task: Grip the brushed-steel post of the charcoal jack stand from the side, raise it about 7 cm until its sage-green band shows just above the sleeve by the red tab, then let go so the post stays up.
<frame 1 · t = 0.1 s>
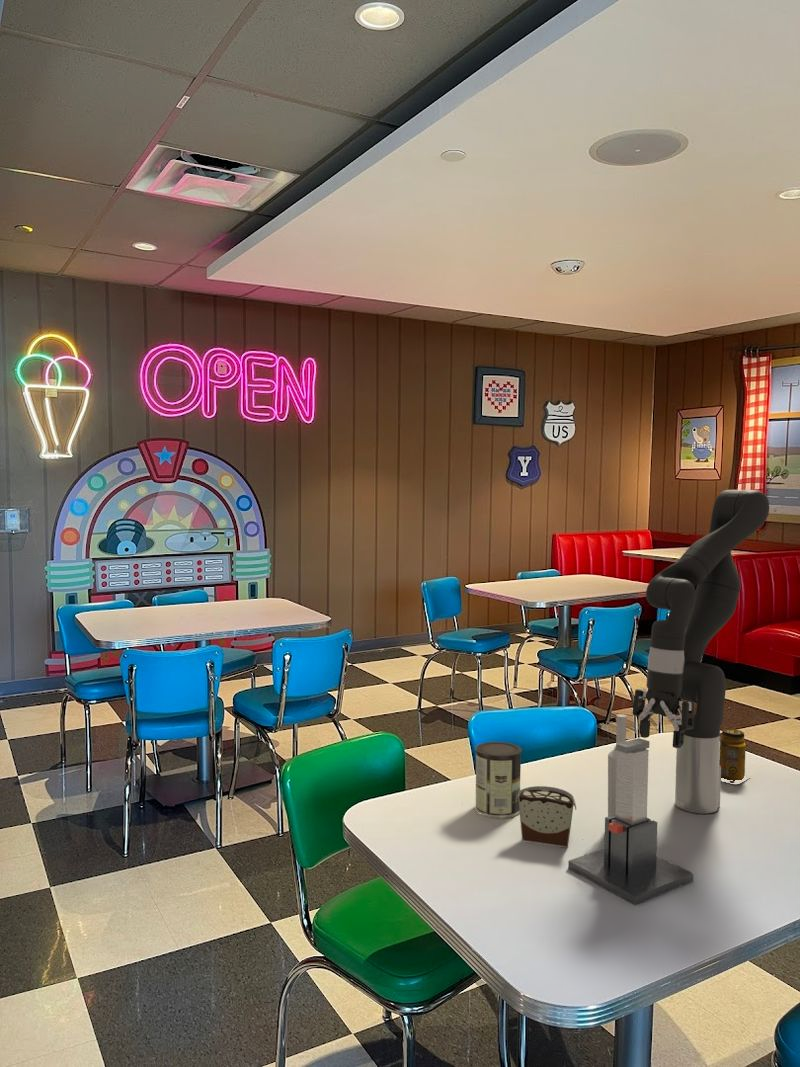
hand: (660, 742, 174), 17 cm above the table, tool pointing down, fingers open, 8 cm apart
bottle: (618, 833, 168), on the table
condiment: (729, 779, 201), on the table
food container: (547, 839, 165), on the table
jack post: (631, 803, 148), point 14 cm above the table, slide at 0.0 cm
jack stand: (629, 874, 149), on the table
coffee can: (497, 810, 179), on the table
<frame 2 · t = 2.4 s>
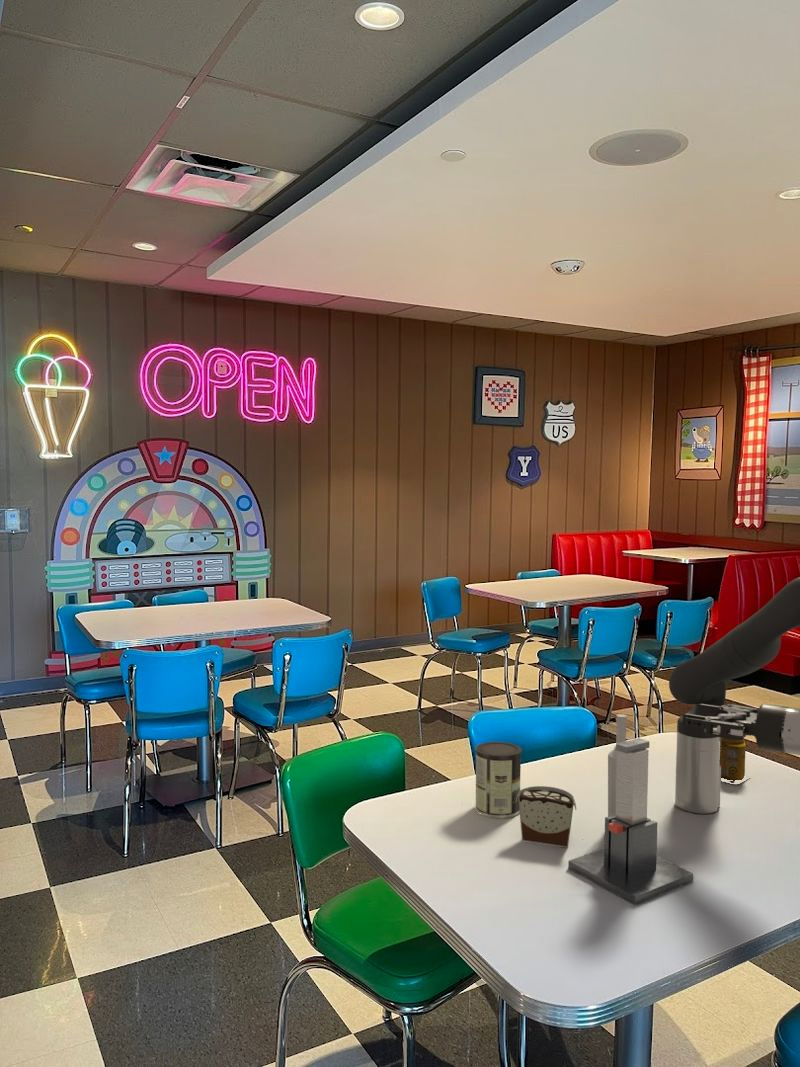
hand: (690, 714, 141), 32 cm above the table, tool horizontal, fingers open, 8 cm apart
nothing on the table moved.
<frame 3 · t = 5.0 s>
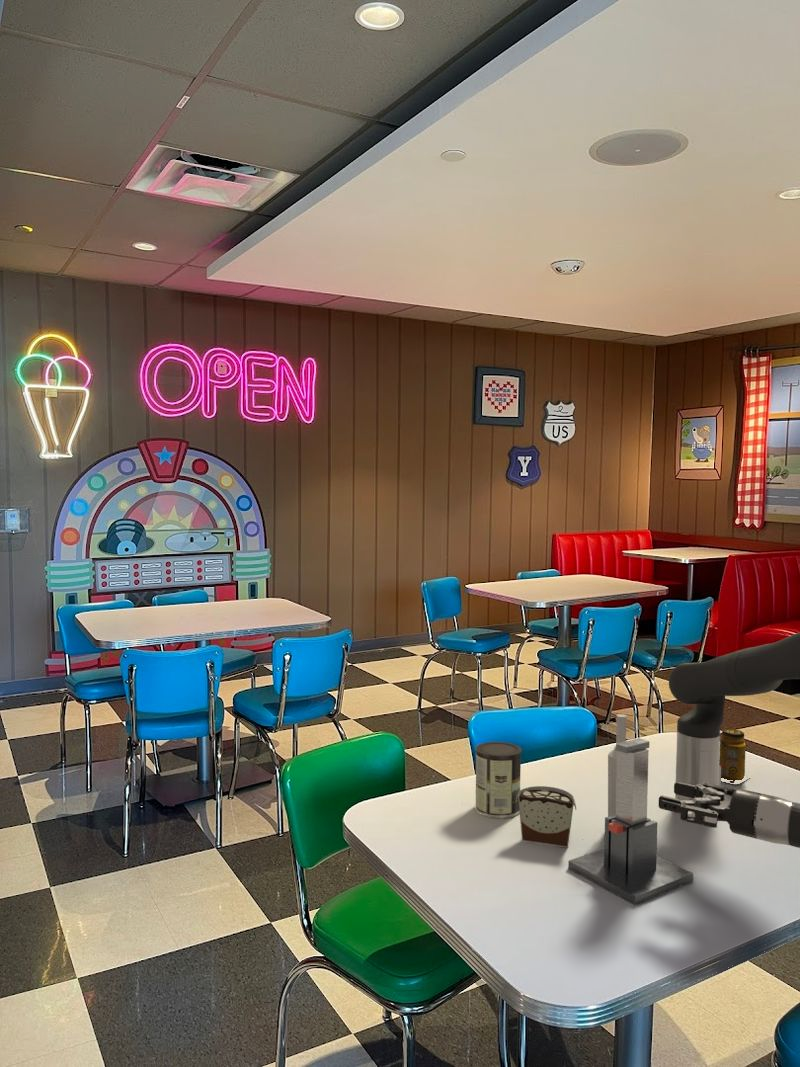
hand: (667, 794, 144), 17 cm above the table, tool horizontal, fingers open, 8 cm apart
nothing on the table moved.
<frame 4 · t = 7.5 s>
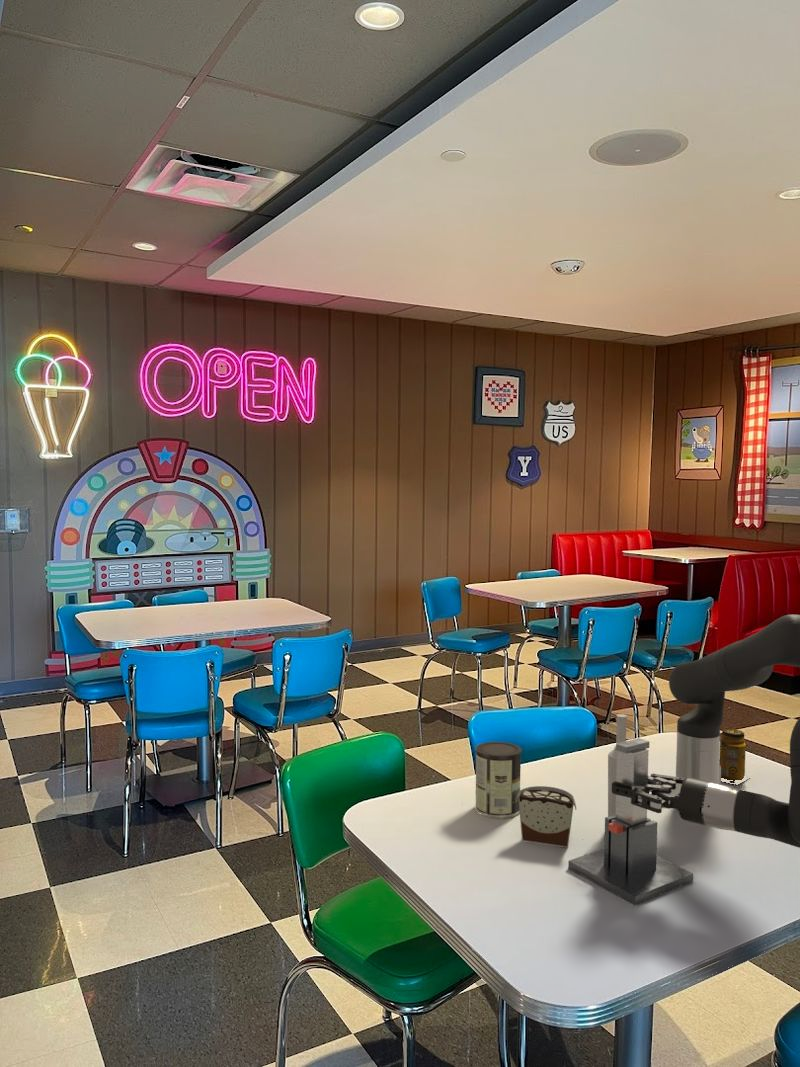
hand: (618, 782, 150), 17 cm above the table, tool horizontal, fingers closed on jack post, 5 cm apart
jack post: (631, 803, 148), point 14 cm above the table, slide at 0.0 cm, touching gripper
everything else where it was.
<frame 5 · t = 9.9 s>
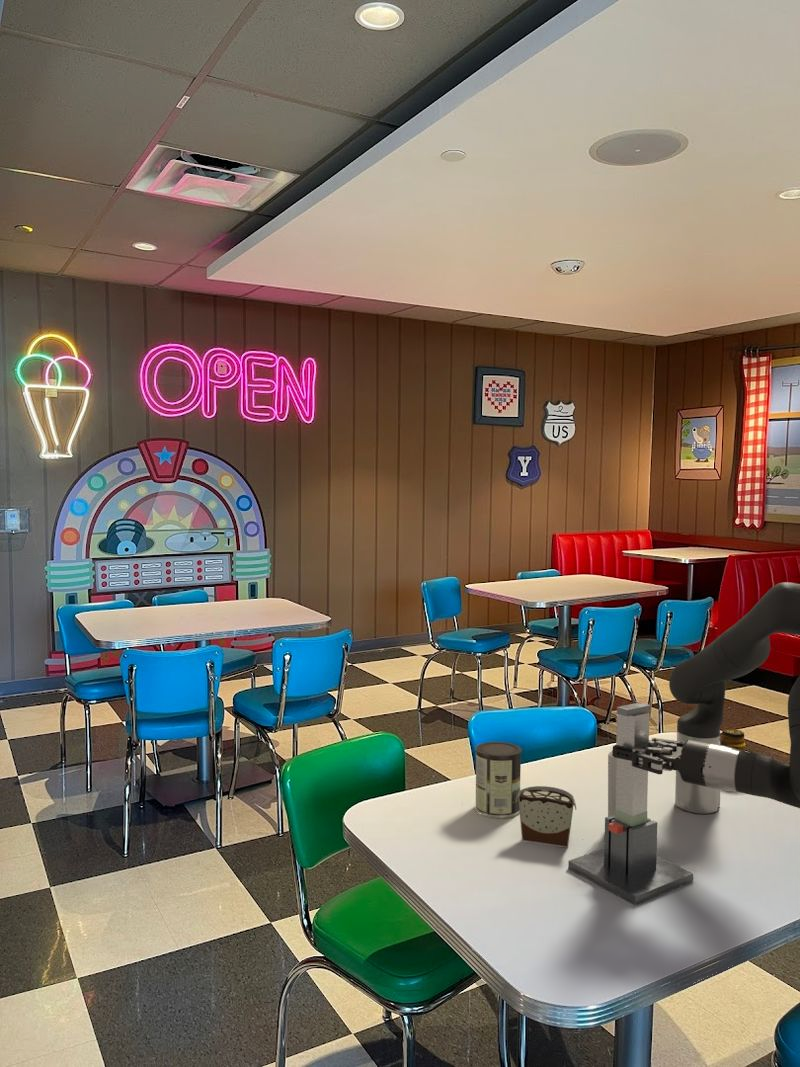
hand: (619, 746, 149), 24 cm above the table, tool horizontal, fingers closed on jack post, 5 cm apart
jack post: (632, 767, 148), point 20 cm above the table, slide at 6.9 cm, touching gripper
everything else where it was.
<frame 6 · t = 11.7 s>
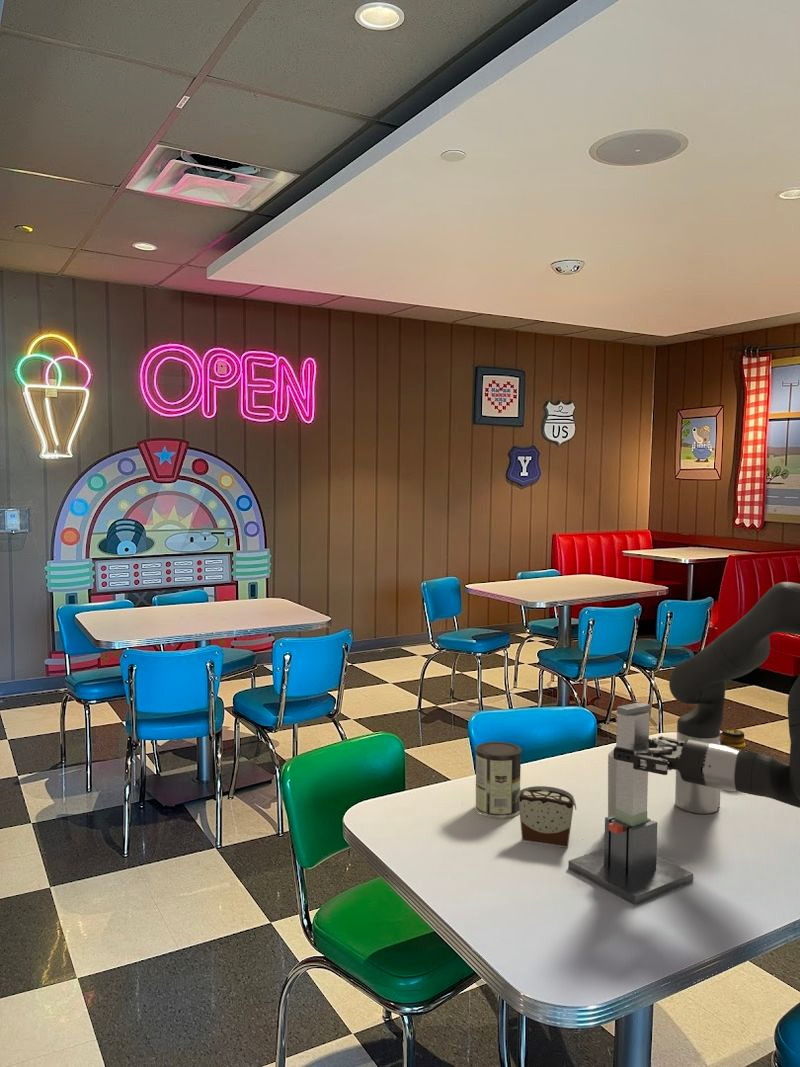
hand: (622, 746, 149), 24 cm above the table, tool horizontal, fingers open, 8 cm apart
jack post: (632, 767, 148), point 21 cm above the table, slide at 6.9 cm
everything else where it was.
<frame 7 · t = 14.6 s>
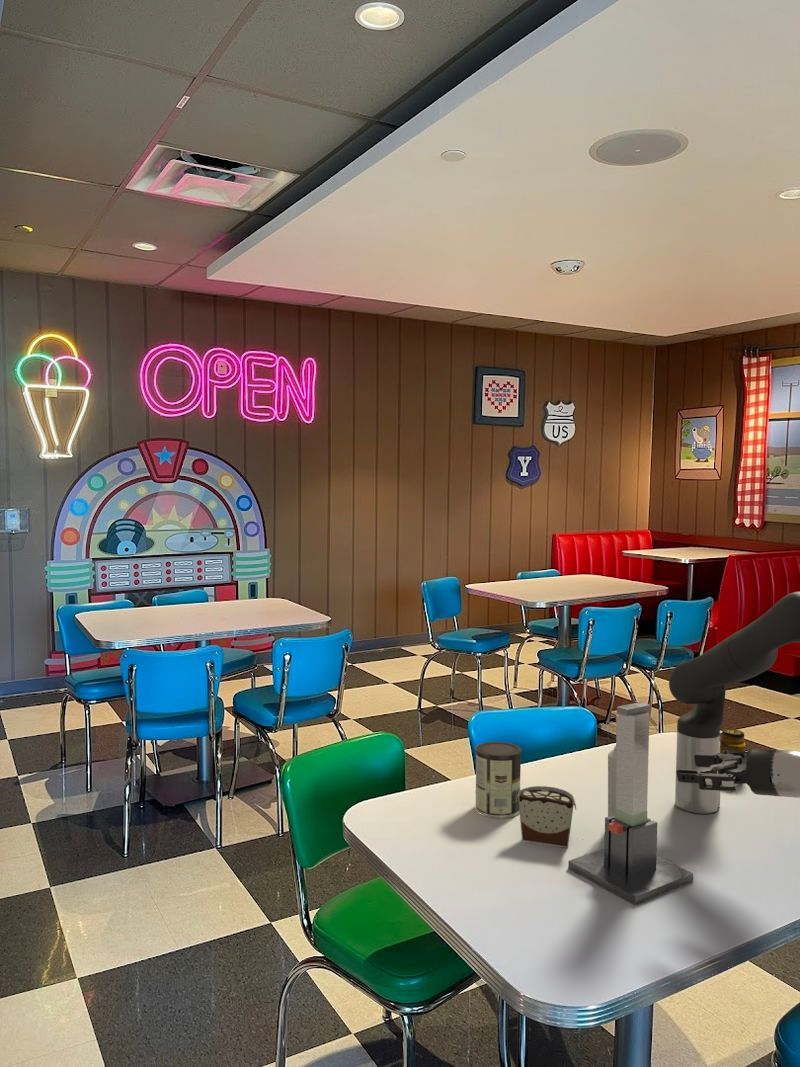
hand: (686, 767, 143), 22 cm above the table, tool horizontal, fingers open, 8 cm apart
nothing on the table moved.
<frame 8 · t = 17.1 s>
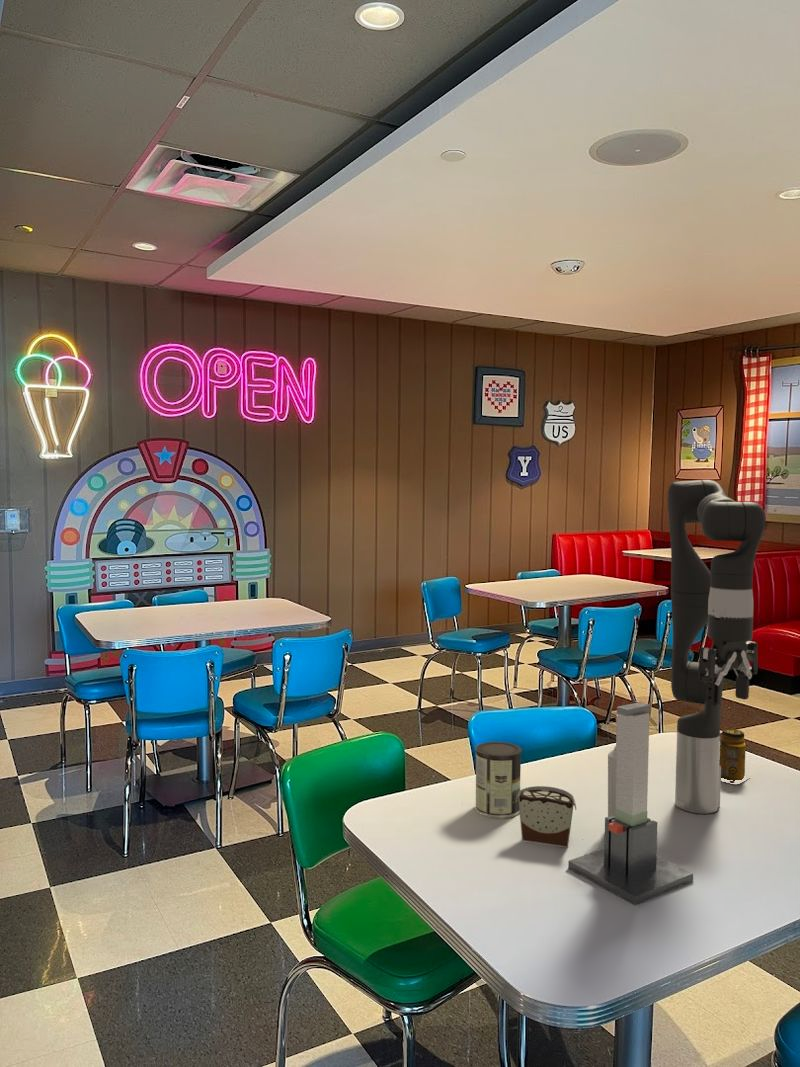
hand: (727, 701, 143), 34 cm above the table, tool pointing down, fingers open, 8 cm apart
nothing on the table moved.
at the end: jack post slide at 6.9 cm; the gripper is holding nothing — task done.
